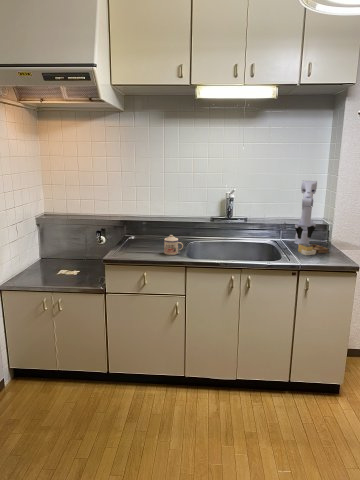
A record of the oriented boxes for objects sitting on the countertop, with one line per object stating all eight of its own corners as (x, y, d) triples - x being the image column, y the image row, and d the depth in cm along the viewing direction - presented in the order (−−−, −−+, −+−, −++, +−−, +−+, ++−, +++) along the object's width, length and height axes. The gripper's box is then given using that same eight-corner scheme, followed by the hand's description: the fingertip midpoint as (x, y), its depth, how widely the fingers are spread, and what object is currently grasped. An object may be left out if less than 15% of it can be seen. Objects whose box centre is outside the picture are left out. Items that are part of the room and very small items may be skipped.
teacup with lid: (162, 254, 225) (162, 236, 222) (165, 251, 234) (165, 233, 231) (181, 255, 223) (182, 237, 221) (183, 251, 232) (184, 234, 229)
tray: (304, 248, 244) (304, 245, 243) (315, 247, 247) (315, 244, 246) (317, 253, 232) (317, 250, 232) (328, 252, 236) (329, 248, 235)
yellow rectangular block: (297, 251, 237) (297, 243, 236) (302, 250, 239) (303, 242, 238) (306, 254, 229) (307, 246, 228) (311, 254, 231) (312, 246, 230)
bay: (301, 253, 231) (301, 249, 231) (310, 252, 234) (311, 248, 234) (305, 255, 228) (306, 251, 227) (315, 254, 230) (315, 250, 230)
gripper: (300, 218, 224) (298, 240, 227) (319, 217, 229) (317, 238, 232) (293, 216, 230) (291, 237, 234) (312, 215, 235) (310, 236, 239)
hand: (304, 238), depth 233 cm, fingers open, 7 cm apart
